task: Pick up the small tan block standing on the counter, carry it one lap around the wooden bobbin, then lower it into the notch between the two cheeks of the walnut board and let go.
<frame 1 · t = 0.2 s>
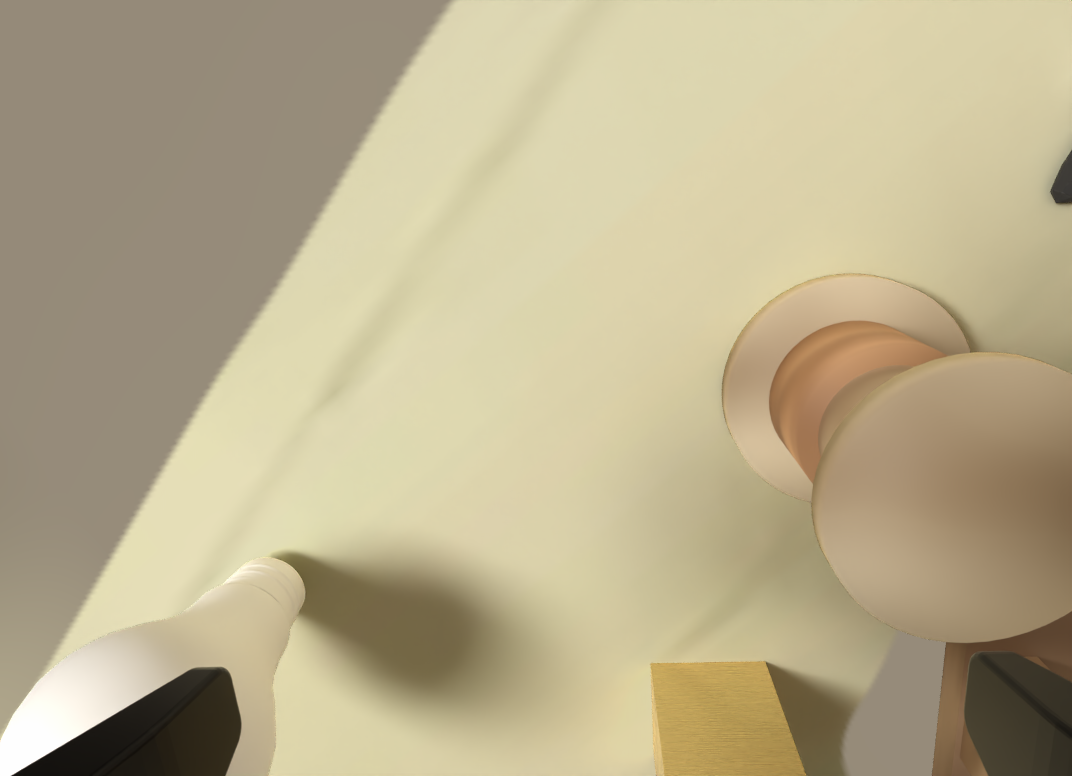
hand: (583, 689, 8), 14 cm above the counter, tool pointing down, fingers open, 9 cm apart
lightbulb: (282, 573, 25), on the counter
bobbin: (837, 387, 21), on the counter
tan block: (707, 708, 25), on the counter
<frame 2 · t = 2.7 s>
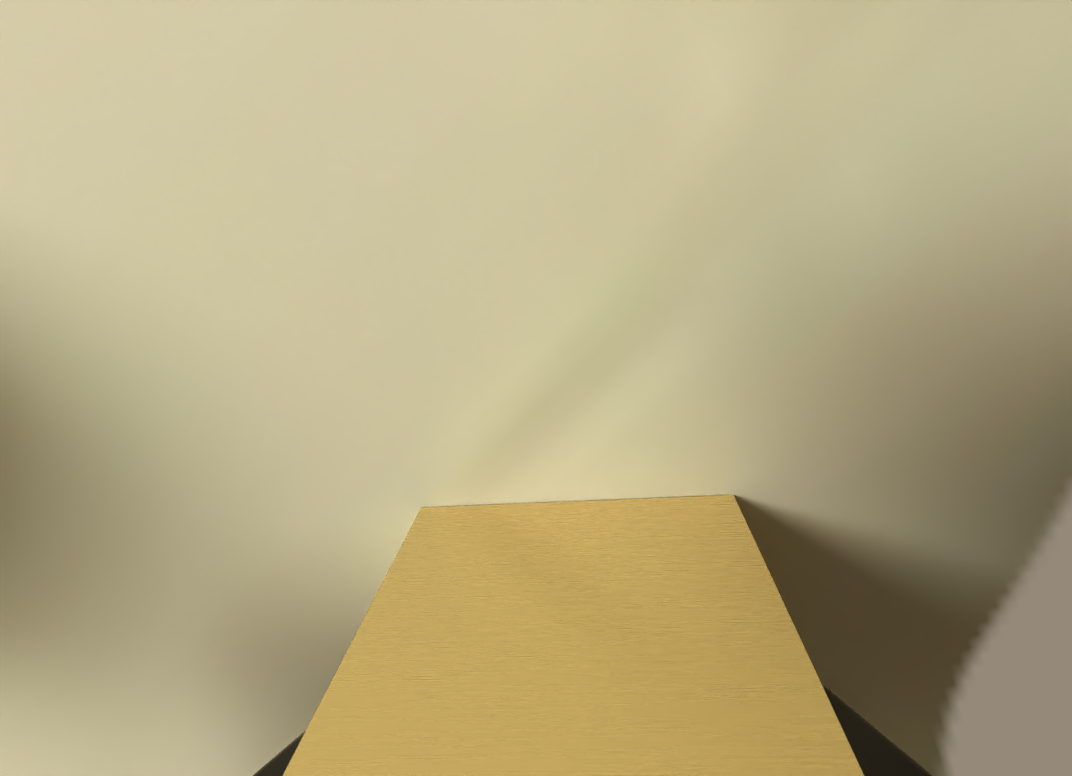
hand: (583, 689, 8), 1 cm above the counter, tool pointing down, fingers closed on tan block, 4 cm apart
tan block: (583, 635, 9), on the counter, touching gripper
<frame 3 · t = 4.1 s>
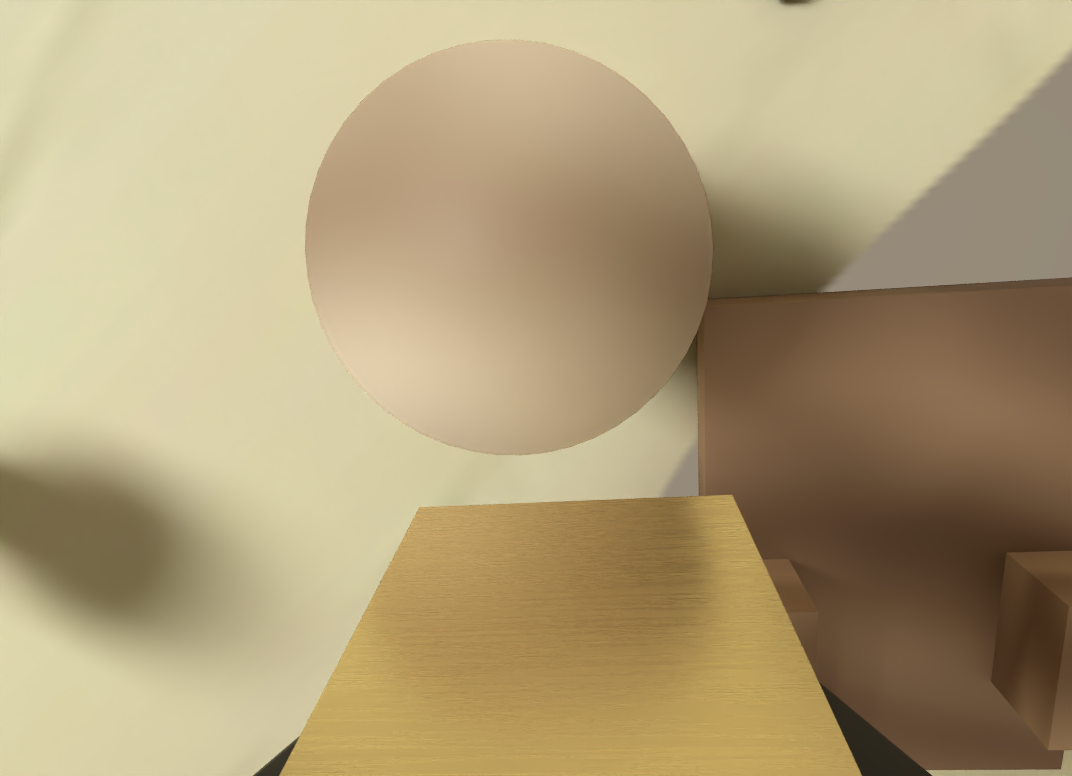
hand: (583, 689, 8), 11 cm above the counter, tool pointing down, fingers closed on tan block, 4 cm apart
notch board: (877, 534, 20), on the counter
bobbin: (540, 233, 18), on the counter
tan block: (582, 635, 9), point 10 cm above the counter, touching gripper
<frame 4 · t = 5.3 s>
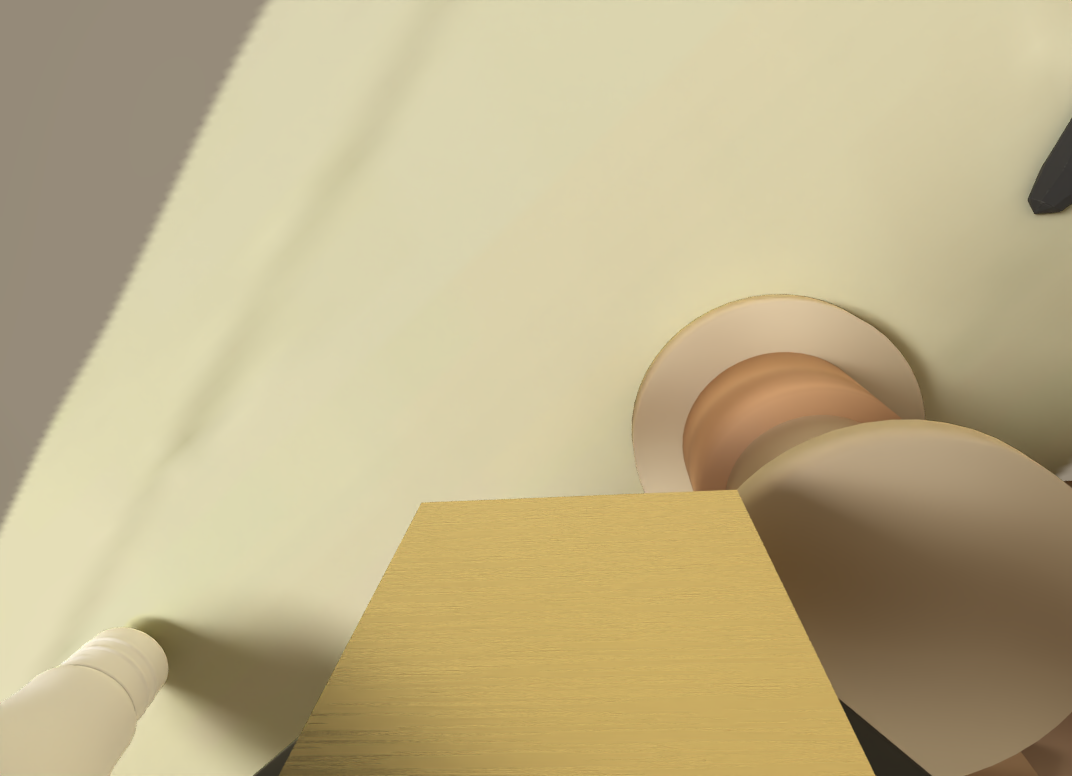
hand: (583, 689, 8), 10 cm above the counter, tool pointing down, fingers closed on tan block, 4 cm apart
lightbulb: (148, 640, 22), on the counter
bobbin: (766, 427, 18), on the counter
tan block: (585, 632, 9), point 9 cm above the counter, touching gripper
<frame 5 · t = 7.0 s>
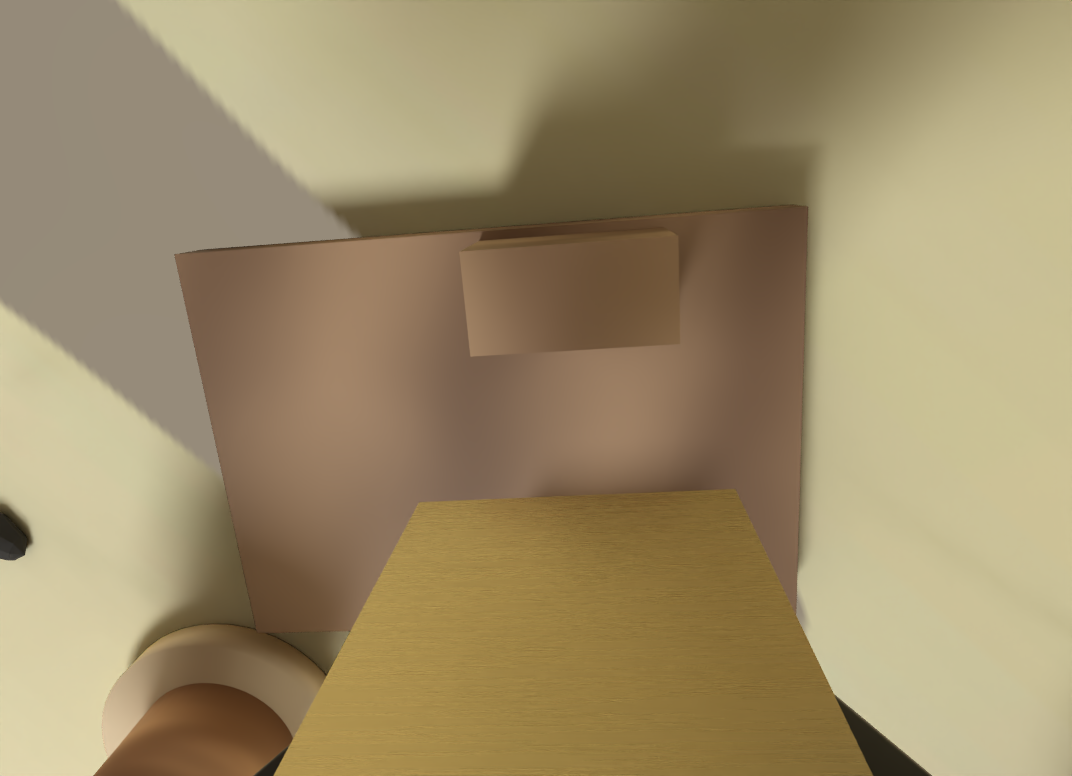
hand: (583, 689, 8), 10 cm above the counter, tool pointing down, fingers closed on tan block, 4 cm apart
notch board: (505, 428, 18), on the counter
bobbin: (236, 724, 21), on the counter
tan block: (583, 632, 9), point 9 cm above the counter, touching gripper
when the fingers open (3 cm above the counter, at t = 8.3 s): tan block drops 1 cm, resting on notch board.
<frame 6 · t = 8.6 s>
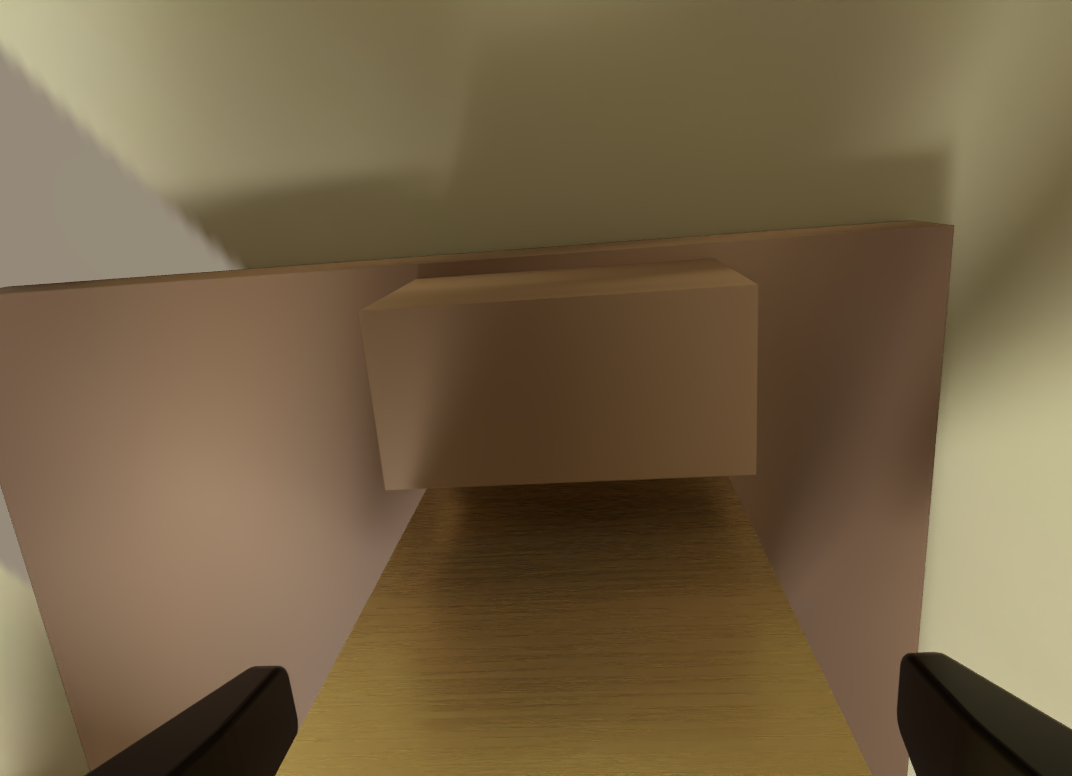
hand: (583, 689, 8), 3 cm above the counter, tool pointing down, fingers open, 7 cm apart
notch board: (467, 549, 12), on the counter
tan block: (584, 578, 11), point 1 cm above the counter, touching notch board
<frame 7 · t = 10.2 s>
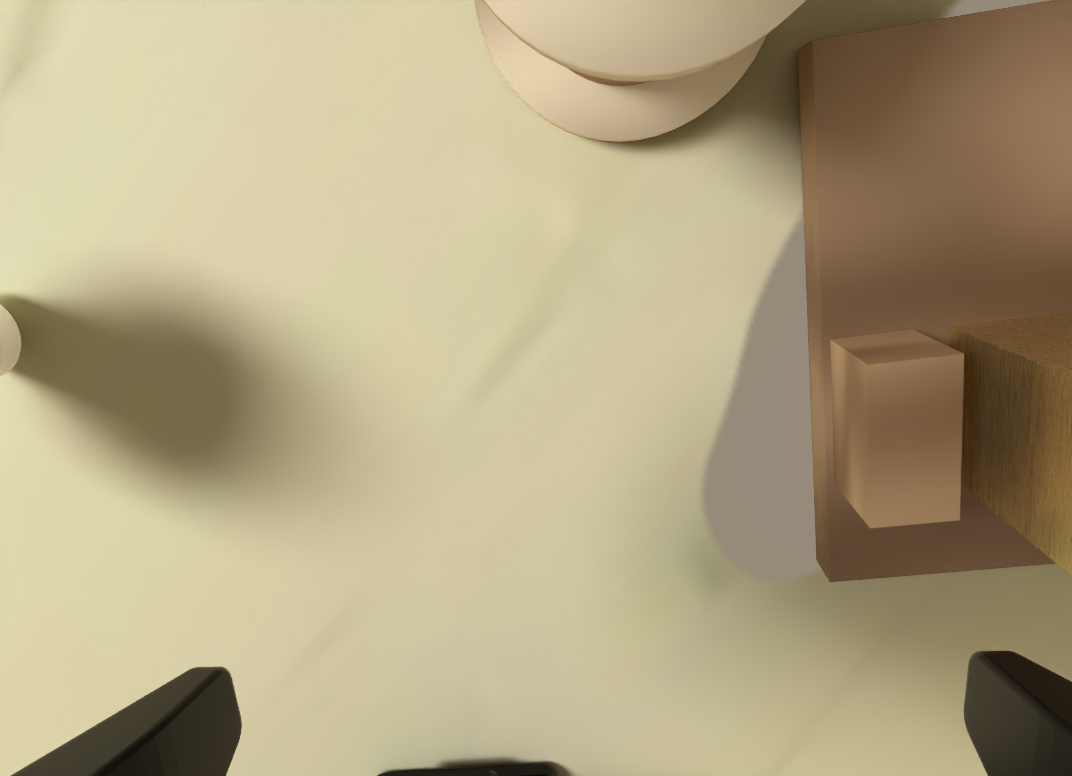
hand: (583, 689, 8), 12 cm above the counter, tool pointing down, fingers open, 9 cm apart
notch board: (1004, 306, 18), on the counter
lightbulb: (6, 328, 21), on the counter
tan block: (1032, 393, 18), point 1 cm above the counter, touching notch board
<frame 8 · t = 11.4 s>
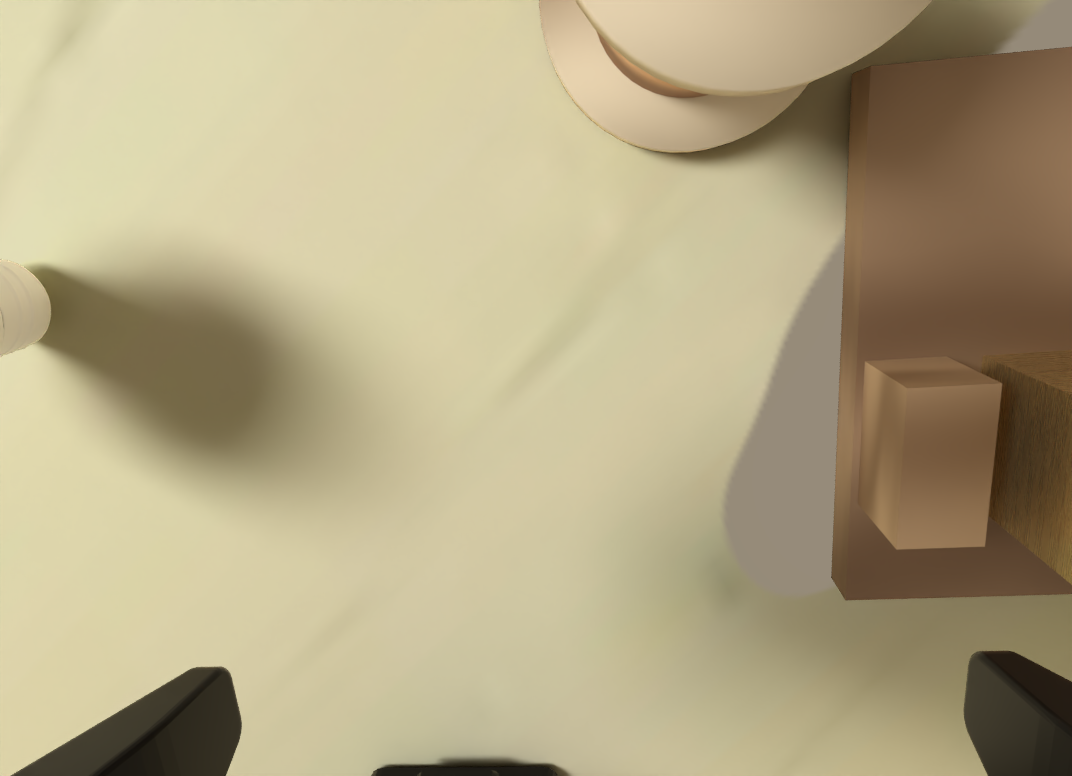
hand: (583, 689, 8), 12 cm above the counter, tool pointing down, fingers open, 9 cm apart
notch board: (1034, 339, 19), on the counter
lightbulb: (35, 298, 21), on the counter
bobbin: (685, 1, 17), on the counter
tan block: (1057, 425, 18), point 1 cm above the counter, touching notch board
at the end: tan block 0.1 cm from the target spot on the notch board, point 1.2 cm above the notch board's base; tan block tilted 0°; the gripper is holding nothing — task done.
